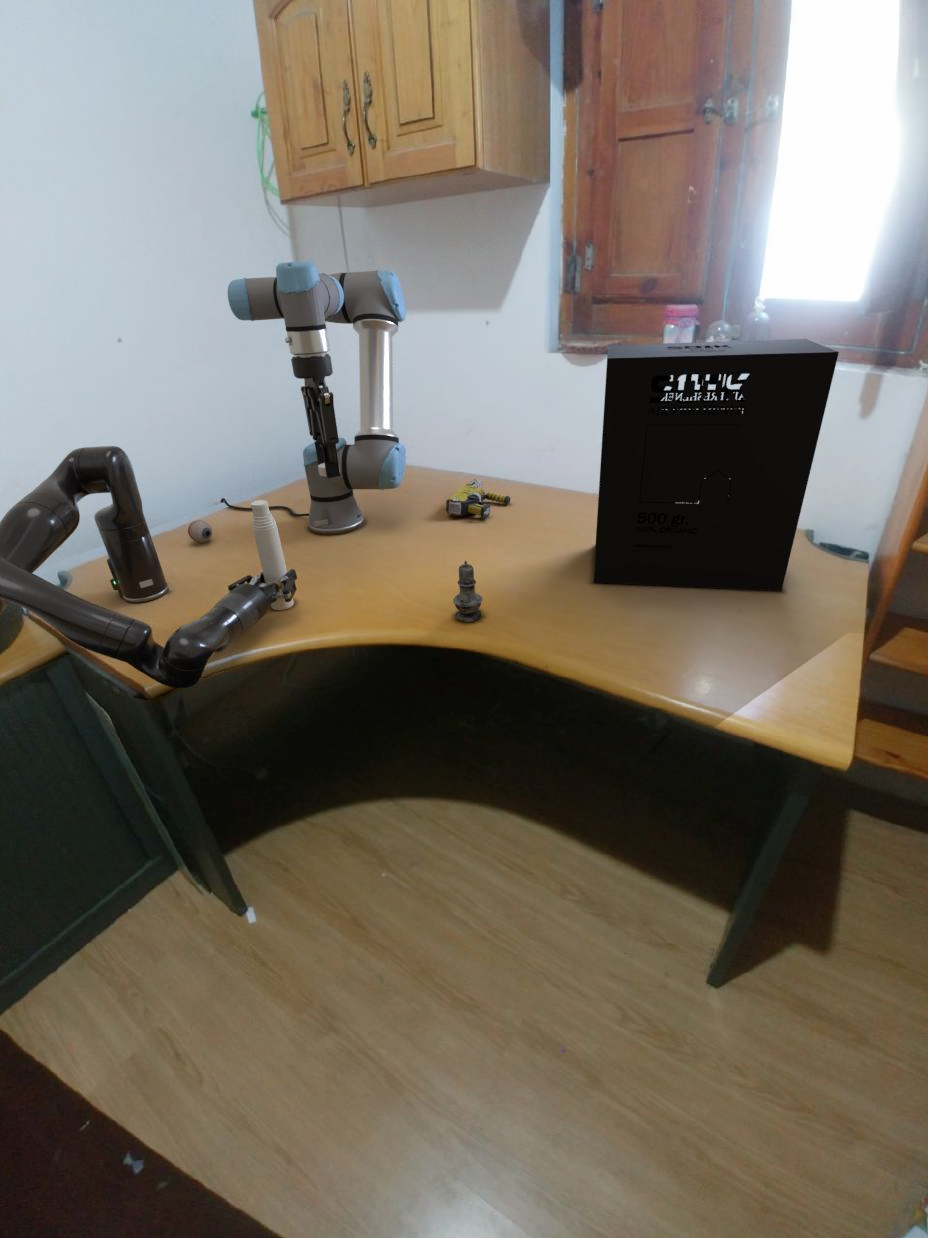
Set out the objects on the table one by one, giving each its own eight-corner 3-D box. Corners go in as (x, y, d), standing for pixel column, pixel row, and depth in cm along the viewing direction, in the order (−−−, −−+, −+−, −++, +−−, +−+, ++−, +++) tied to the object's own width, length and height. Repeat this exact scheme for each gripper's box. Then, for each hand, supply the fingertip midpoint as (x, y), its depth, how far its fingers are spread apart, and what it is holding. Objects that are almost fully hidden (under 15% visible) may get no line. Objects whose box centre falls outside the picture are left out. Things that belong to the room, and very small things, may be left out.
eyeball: (201, 547, 160) (195, 526, 157) (186, 543, 163) (180, 522, 160) (220, 539, 164) (214, 518, 161) (205, 536, 167) (199, 515, 164)
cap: (320, 471, 130) (319, 462, 129) (341, 469, 130) (340, 461, 129) (317, 477, 126) (316, 468, 125) (339, 475, 126) (337, 466, 125)
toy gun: (518, 484, 183) (472, 477, 187) (496, 507, 163) (444, 499, 167) (517, 499, 185) (471, 492, 189) (494, 524, 165) (443, 515, 169)
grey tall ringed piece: (480, 623, 118) (477, 567, 112) (451, 621, 119) (447, 566, 113) (485, 608, 123) (483, 554, 117) (457, 607, 124) (453, 553, 118)
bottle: (290, 597, 132) (268, 497, 121) (296, 606, 129) (274, 503, 117) (269, 603, 130) (244, 501, 119) (274, 612, 127) (249, 508, 115)
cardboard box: (760, 550, 140) (805, 338, 118) (781, 591, 123) (838, 351, 101) (595, 545, 148) (608, 345, 125) (593, 582, 131) (607, 358, 108)
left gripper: (211, 625, 118) (257, 585, 132) (276, 631, 115) (316, 590, 129) (200, 591, 114) (249, 554, 128) (268, 596, 111) (310, 558, 125)
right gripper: (279, 353, 121) (300, 468, 133) (304, 360, 108) (325, 487, 120) (315, 349, 124) (333, 462, 136) (344, 355, 111) (361, 480, 123)
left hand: (282, 572), depth 128 cm, fingers closed on bottle, 4 cm apart
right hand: (329, 473), depth 128 cm, fingers closed on cap, 4 cm apart
